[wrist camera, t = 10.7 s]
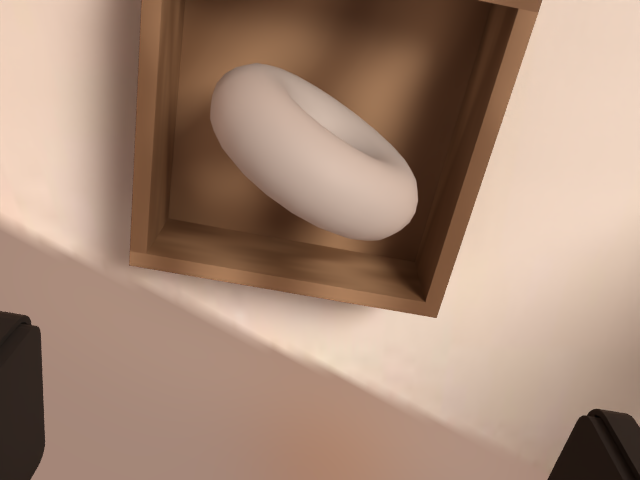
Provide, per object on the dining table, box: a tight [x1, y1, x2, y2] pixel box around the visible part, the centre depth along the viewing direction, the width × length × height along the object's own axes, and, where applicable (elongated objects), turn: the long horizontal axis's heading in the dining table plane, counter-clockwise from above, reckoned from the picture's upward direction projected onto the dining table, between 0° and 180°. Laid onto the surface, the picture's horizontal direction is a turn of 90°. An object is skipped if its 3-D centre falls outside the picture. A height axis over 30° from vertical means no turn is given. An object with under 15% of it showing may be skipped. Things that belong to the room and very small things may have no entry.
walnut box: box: [129, 0, 542, 318], centre depth 28 cm, size 16×16×5 cm
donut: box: [210, 63, 418, 241], centre depth 25 cm, size 10×4×10 cm, turn 56°
